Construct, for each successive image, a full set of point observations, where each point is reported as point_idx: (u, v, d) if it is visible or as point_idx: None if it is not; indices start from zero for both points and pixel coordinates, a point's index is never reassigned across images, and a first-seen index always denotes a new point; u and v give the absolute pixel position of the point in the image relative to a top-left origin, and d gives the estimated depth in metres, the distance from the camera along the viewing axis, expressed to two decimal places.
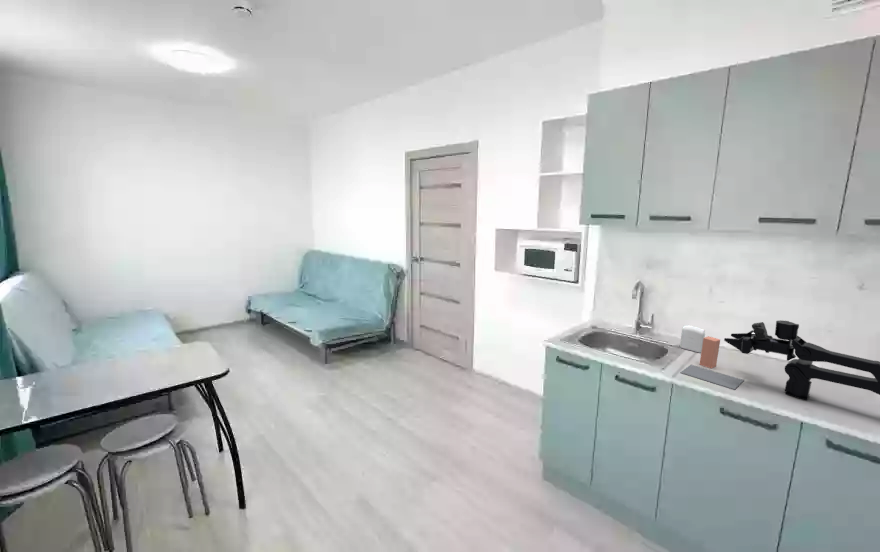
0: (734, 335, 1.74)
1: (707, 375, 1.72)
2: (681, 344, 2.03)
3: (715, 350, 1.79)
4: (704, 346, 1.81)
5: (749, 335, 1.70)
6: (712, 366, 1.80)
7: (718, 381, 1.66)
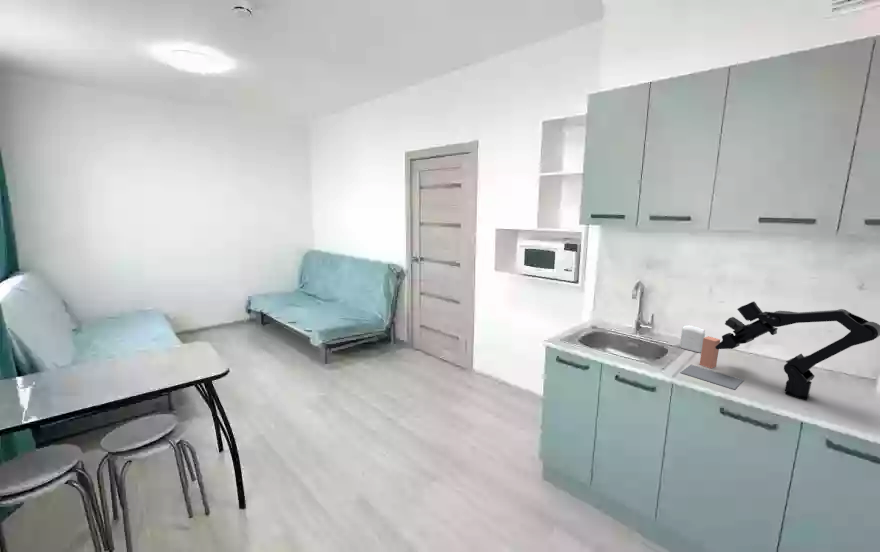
0: None
1: (707, 375, 1.72)
2: (681, 344, 2.03)
3: (715, 350, 1.79)
4: (704, 346, 1.81)
5: None
6: (712, 366, 1.80)
7: (718, 381, 1.66)
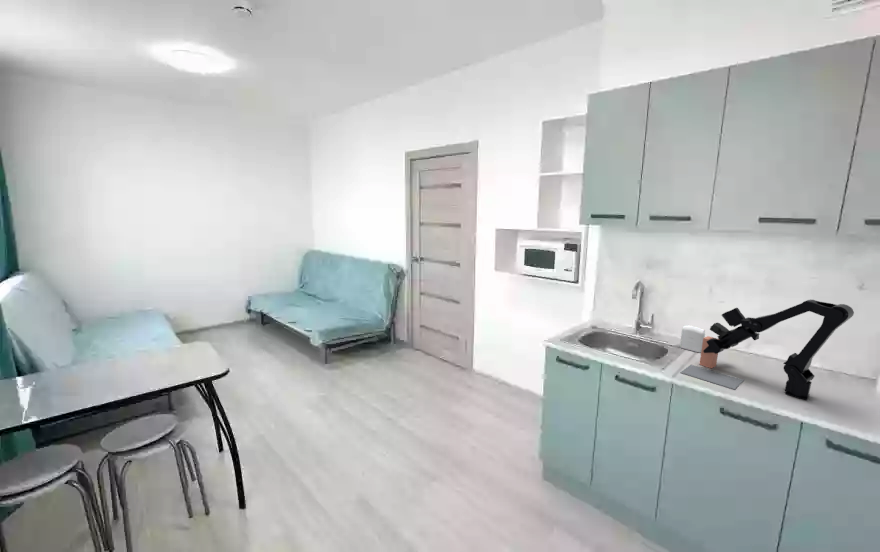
0: None
1: (707, 375, 1.72)
2: (681, 344, 2.03)
3: None
4: (704, 346, 1.81)
5: None
6: (712, 366, 1.80)
7: (718, 381, 1.66)
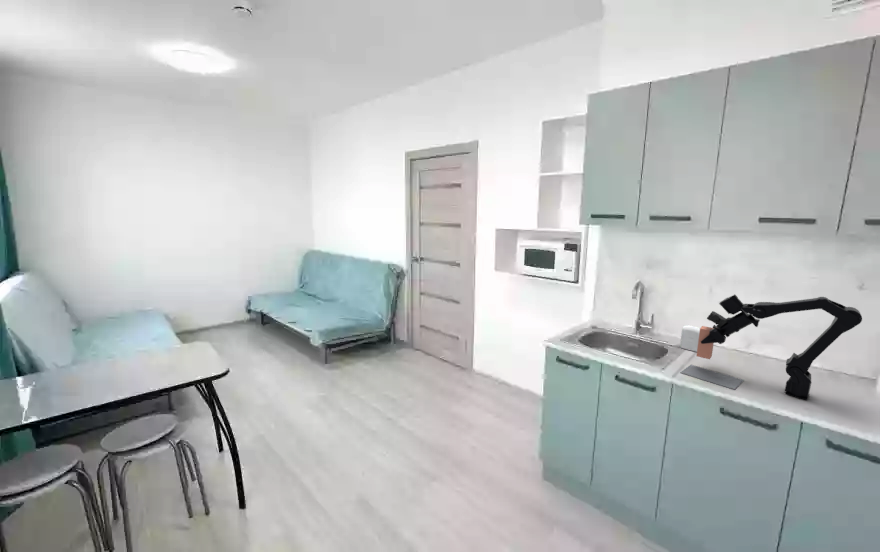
0: None
1: (707, 375, 1.72)
2: (681, 344, 2.03)
3: None
4: (701, 336, 1.74)
5: None
6: (710, 357, 1.73)
7: (718, 381, 1.66)
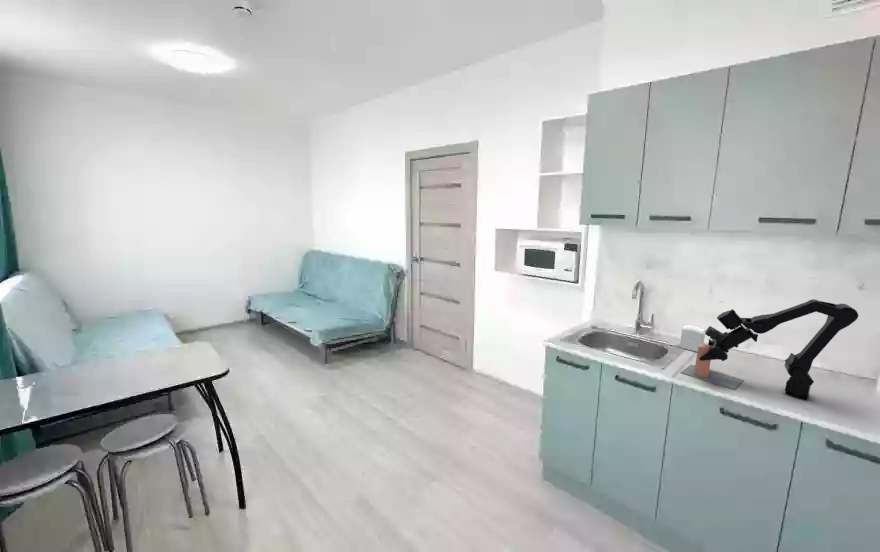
0: None
1: None
2: (681, 344, 2.03)
3: None
4: (699, 355, 1.70)
5: (711, 344, 1.72)
6: None
7: (718, 381, 1.66)
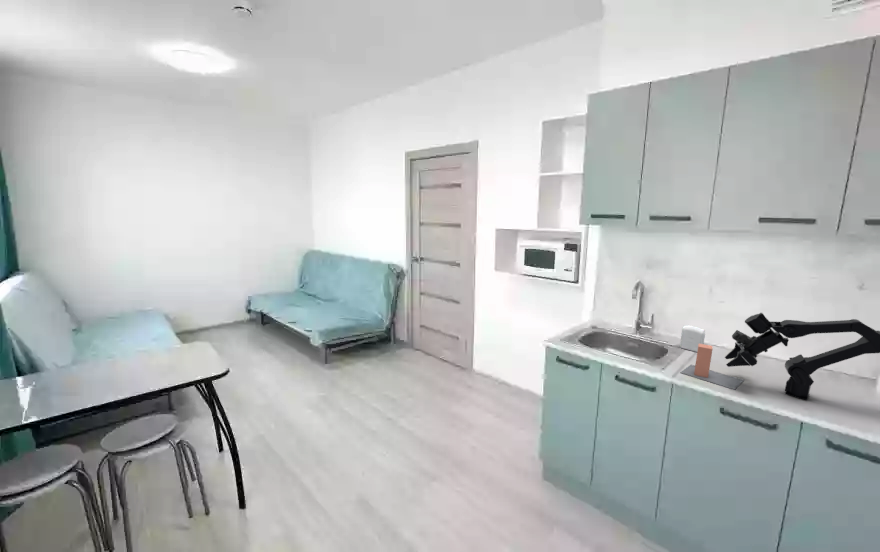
0: (728, 356, 1.70)
1: None
2: (681, 344, 2.03)
3: (710, 358, 1.69)
4: (699, 355, 1.70)
5: (738, 348, 1.68)
6: None
7: (718, 381, 1.66)
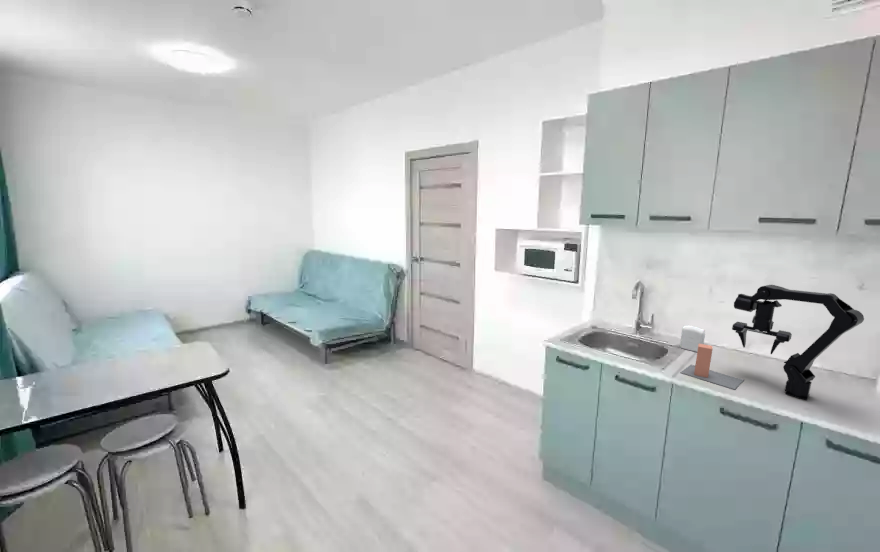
0: (771, 350, 1.63)
1: None
2: (681, 344, 2.03)
3: (710, 358, 1.69)
4: (699, 355, 1.70)
5: (776, 339, 1.62)
6: None
7: (718, 381, 1.66)
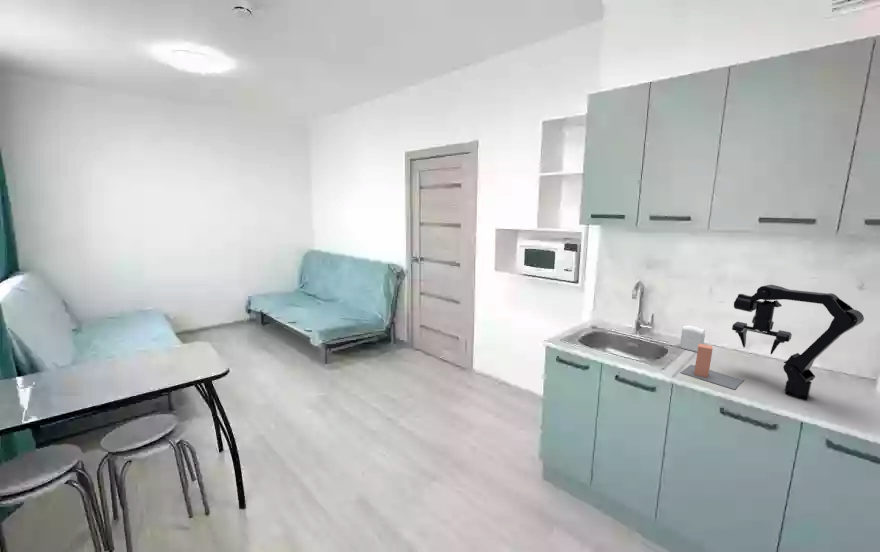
0: (771, 350, 1.63)
1: None
2: (681, 344, 2.03)
3: (710, 358, 1.69)
4: (699, 355, 1.70)
5: (776, 339, 1.62)
6: None
7: (718, 381, 1.66)
